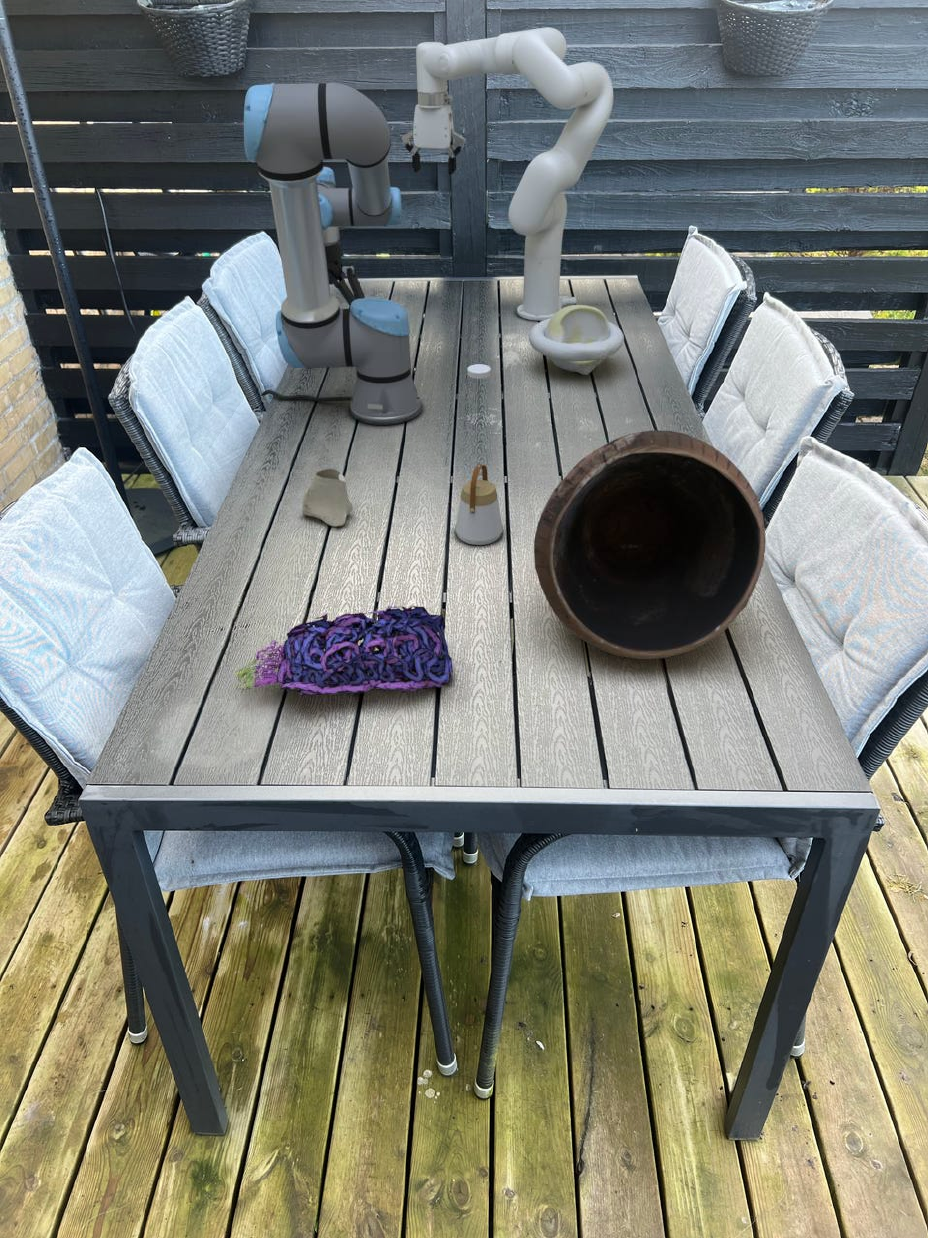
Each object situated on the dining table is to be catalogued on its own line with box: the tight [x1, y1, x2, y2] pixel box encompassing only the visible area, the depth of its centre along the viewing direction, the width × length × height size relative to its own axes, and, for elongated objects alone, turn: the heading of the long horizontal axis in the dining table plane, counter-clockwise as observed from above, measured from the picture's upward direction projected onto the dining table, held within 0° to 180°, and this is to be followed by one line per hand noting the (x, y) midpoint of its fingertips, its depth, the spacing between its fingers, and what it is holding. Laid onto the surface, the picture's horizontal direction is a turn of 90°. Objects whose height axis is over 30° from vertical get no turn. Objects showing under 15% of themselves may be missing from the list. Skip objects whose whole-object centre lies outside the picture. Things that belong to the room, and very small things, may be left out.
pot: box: [533, 429, 767, 660], centre depth 139 cm, size 32×32×30 cm
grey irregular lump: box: [301, 468, 353, 528], centre depth 164 cm, size 9×8×10 cm
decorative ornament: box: [235, 605, 454, 697], centre depth 129 cm, size 13×11×30 cm
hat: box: [528, 304, 625, 376], centre depth 215 cm, size 25×22×15 cm
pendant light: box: [455, 363, 503, 546], centre depth 153 cm, size 8×8×30 cm
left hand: (332, 334), depth 226 cm, fingers open, 11 cm apart
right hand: (434, 172), depth 247 cm, fingers open, 9 cm apart
